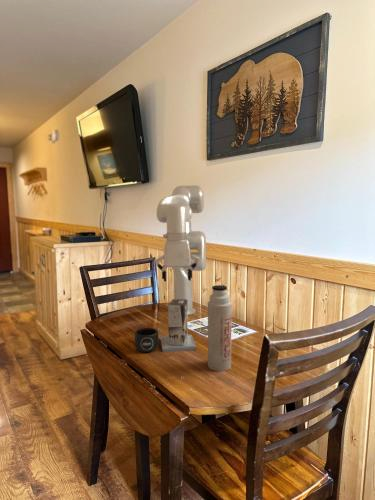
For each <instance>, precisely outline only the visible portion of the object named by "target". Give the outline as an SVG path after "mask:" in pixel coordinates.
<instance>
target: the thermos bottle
mask: <svg viewBox="0 0 375 500" xmlns="http://www.w3.org/2000/svg"><path fill="white" fill-rule="evenodd" d="M211 289H212V293H211V295H210V296H209V301H208V302H207V367H208V369H210V370H213V371H217V372H219V371H220V372H223V371H227V370H229V369H231V366H232V302H231V299H230V295H228V287H227V286H226V285H219V284H218V285H217V284H216V285H212V287H211Z"/></svg>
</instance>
